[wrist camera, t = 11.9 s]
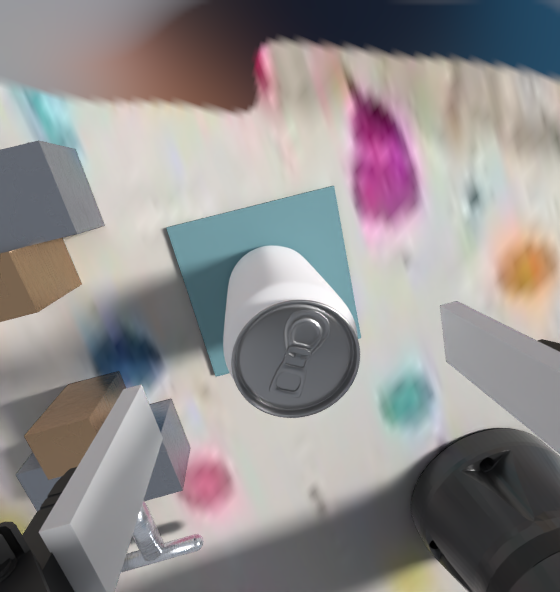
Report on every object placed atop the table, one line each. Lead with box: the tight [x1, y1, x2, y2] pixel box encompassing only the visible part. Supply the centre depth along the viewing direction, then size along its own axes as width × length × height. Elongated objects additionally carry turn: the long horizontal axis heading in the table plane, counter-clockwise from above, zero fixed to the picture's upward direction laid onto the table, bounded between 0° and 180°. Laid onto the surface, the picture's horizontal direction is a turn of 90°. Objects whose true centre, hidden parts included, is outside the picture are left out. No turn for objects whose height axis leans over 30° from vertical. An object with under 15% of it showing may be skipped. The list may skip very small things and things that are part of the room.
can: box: [223, 246, 360, 418], centre depth 21 cm, size 6×6×12 cm
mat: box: [167, 186, 361, 377], centre depth 27 cm, size 12×12×1 cm
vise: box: [0, 141, 203, 572], centre depth 25 cm, size 32×10×6 cm, turn 13°
